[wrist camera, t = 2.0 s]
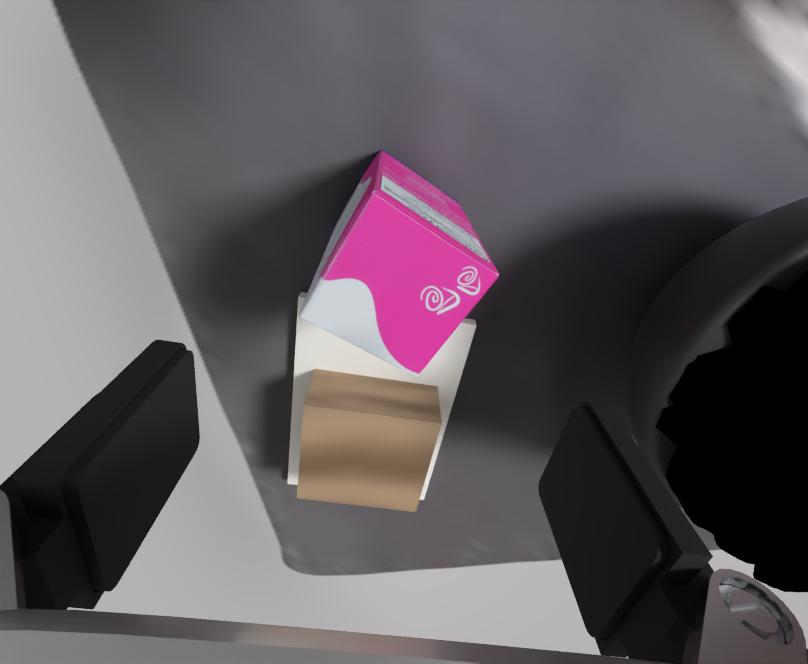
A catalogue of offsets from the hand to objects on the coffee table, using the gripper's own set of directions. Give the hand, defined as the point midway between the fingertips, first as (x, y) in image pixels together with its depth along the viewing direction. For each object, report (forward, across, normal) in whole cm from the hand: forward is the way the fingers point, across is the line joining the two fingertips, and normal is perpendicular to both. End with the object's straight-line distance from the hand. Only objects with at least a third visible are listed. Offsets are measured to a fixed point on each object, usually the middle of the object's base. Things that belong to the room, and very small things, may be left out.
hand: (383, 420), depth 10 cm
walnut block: (+17, 0, +15) cm, 23 cm away
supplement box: (+18, 0, -1) cm, 18 cm away
